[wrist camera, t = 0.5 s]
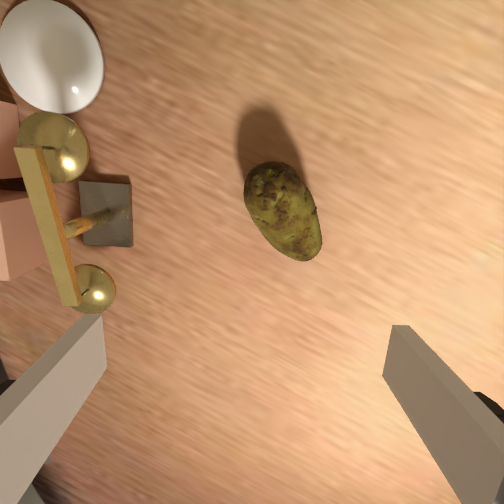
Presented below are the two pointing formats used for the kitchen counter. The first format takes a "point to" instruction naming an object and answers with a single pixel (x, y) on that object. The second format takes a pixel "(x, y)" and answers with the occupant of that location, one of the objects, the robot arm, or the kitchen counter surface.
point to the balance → (91, 201)
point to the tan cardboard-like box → (8, 141)
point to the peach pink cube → (18, 236)
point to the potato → (283, 210)
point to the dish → (51, 56)
